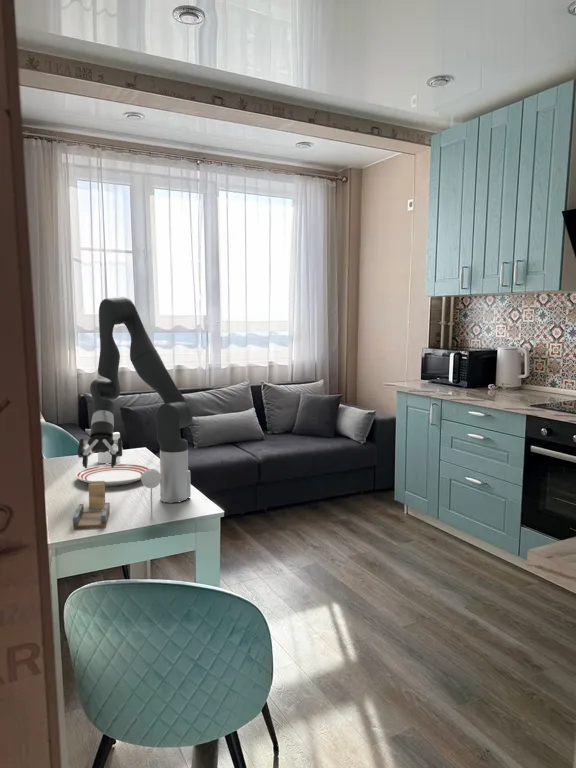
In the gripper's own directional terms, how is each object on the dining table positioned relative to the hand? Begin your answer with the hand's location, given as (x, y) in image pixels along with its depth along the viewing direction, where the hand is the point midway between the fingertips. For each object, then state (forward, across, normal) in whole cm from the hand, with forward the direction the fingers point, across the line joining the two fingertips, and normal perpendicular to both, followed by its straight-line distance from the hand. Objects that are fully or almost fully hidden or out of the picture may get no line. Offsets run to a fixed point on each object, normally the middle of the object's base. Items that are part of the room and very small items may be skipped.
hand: (99, 466), depth 185 cm
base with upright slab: (-28, -2, +45) cm, 53 cm away
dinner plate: (-9, +3, +26) cm, 27 cm away
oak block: (+13, 0, +3) cm, 14 cm away
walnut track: (+22, 0, -6) cm, 23 cm away
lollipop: (+22, +17, -6) cm, 28 cm away
